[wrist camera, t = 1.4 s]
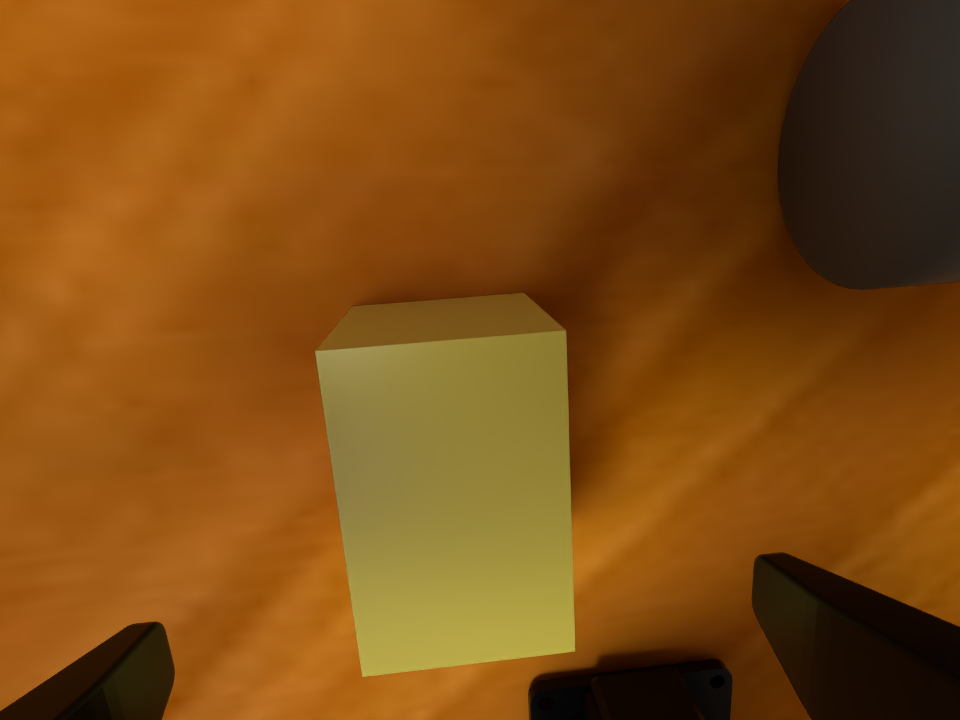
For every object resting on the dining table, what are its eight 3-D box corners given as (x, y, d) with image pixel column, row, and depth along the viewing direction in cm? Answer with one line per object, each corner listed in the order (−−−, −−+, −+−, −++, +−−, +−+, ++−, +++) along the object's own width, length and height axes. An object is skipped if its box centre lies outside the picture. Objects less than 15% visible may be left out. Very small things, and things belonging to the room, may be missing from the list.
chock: (534, 526, 17) (574, 651, 12) (382, 542, 17) (362, 676, 12) (523, 292, 15) (566, 330, 10) (352, 305, 15) (315, 351, 10)
